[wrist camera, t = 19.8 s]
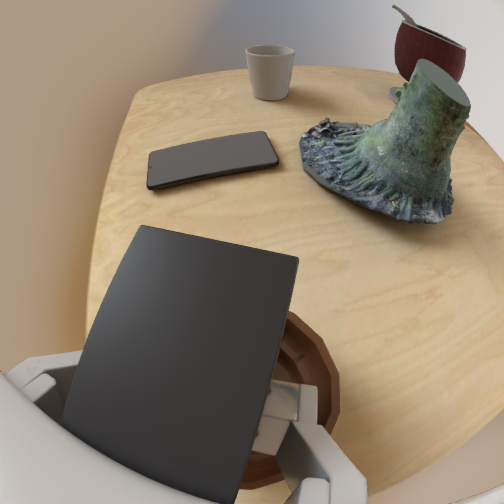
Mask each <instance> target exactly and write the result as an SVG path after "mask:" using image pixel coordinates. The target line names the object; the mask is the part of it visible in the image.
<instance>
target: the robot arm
mask: <svg viewBox="0 0 504 504" xmlns="http://www.w3.org/2000/svg"><path fill="white" fill-rule="evenodd" d="M82 351H83V350H81V351H75V352H68V353H61V354H55V355H47V356H39V357H30V358H28V359H26V360H25V361H23V362H22V363H20V364H19V365H17V366H16V367H14V368H13V369H11V370H10V371H8V372H7V373H6V374H3V373H2V372H1V371H0V504H219V503H216V502H212V501H209V500H205V499H202V498H199V497H196V496H193V495H190V494H187V493H184V492H182V491H179V490H176V489H174V488H171V487H169V486H166V485H164V484H161V483H159V482H157V481H154V480H152V479H150V478H148V477H145V476H143V475H141V474H139V473H137V472H135V471H133V470H131V469H129V468H127V467H125V466H123V465H121V464H120V463H118V462H116V461H114V460H112V459H111V458H109V457H107V456H105V455H104V454H102V453H100V452H99V451H97V450H96V449H94V448H92V447H91V446H89V445H88V444H86V443H85V442H83V441H82V440H80V439H79V438H77V437H76V436H74V435H73V434H71V433H70V432H69V431H67V430H66V429H65V428H63V427H62V426H61V425H60V424H61V420H62V416H63V412H64V408H65V404H66V401H67V397H68V394H69V390H70V387H71V384H72V381H73V378H74V374H75V371H76V368H77V365H78V363H79V360H80V357H81V354H82ZM317 399H318V388H317V387H316V386H311V385H305V384H297V383H291V382H286V381H281V380H276V379H272V381H271V384H270V388H269V392H268V396H267V399H266V403H265V406H264V410H263V414H262V417H261V421H260V424H259V427H258V431H257V434H256V438H255V441H254V444H253V447H252V451H255V452H259V453H263V454H268V455H272V456H275V458H276V461H277V463H278V465H279V467H280V469H281V471H282V473H283V476H284V478H285V480H286V482H287V484H288V486H289V488H290V490H291V492H292V494H291V495H290V497H289V498H288V499H287V500H286V501H285V503H284V504H368V495H367V479H366V478H365V477H364V476H363V475H362V473H361V472H360V471H359V470H358V469H357V468H356V466H355V465H354V464H353V463H352V462H351V460H350V459H349V458H348V457H347V456H346V454H345V453H344V452H343V451H342V450H341V448H340V447H339V446H338V445H337V444H336V442H335V441H334V440H333V439H332V437H331V436H330V435H329V434H328V432H327V431H326V430H325V429H324V427H323V426H322V425H317ZM450 504H504V483H503V484H501V485H499V486H497V487H495V488H492V489H490V490H487V491H485V492H483V493H480V494H477V495H475V496H472V497H469V498H466V499H463V500H460V501H457V502H453V503H450Z"/></svg>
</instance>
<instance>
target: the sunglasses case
mask: <svg viewBox="0 0 504 504" xmlns="http://www.w3.org/2000/svg"><path fill="white" fill-rule="evenodd" d="M298 264H299V258H298V257H295V256H290V255H286V254H281V253H276V252H271V251H267V250H262V249H257V248H252V247H247V246H243V245H238V244H233V243H228V242H223V241H219V240H214V239H209V238H204V237H199V236H194V235H189V234H185V233H180V232H175V231H170V230H165V229H160V228H155V227H150V226H145V225H141V226H140V227H139V229H138V231H137V233H136V234H135V236H134V238H133V240H132V242H131V244H130V246H129V248H128V249H127V251H126V253H125V255H124V257H123V259H122V261H121V263H120V265H119V267H118V269H117V271H116V273H115V275H114V277H113V280H112V282H111V284H110V286H109V288H108V290H107V293H106V295H105V297H104V299H103V301H102V304H101V306H100V308H99V311H98V313H97V315H96V318H95V320H94V323H93V325H92V328H91V330H90V333H89V335H88V338H87V340H86V343H85V346H84V349H83V351H82V354H81V357H80V360H79V363H78V365H77V368H76V371H75V374H74V378H73V381H72V384H71V387H70V390H69V394H68V397H67V401H66V404H65V408H64V412H63V416H62V420H61V424H60V425H61V426H62V427H63V428H65V429H66V430H67V431H69V432H70V433H71V434H73V435H74V436H76V437H77V438H79V439H80V440H82V441H83V442H85V443H86V444H88V445H89V446H91V447H92V448H94V449H96V450H97V451H99V452H100V453H102V454H104V455H105V456H107V457H109V458H111V459H112V460H114V461H116V462H118V463H120V464H121V465H123V466H125V467H127V468H129V469H131V470H133V471H135V472H137V473H139V474H141V475H143V476H145V477H148V478H150V479H152V480H154V481H157V482H159V483H161V484H164V485H166V486H169V487H171V488H174V489H176V490H179V491H182V492H184V493H187V494H190V495H193V496H196V497H199V498H202V499H205V500H209V501H212V502H216V503H219V504H234V502H235V499H236V496H237V494H238V491H239V488H240V485H241V482H242V479H243V476H244V473H245V470H246V467H247V463H248V460H249V457H250V454H251V451H252V447H253V444H254V441H255V438H256V434H257V431H258V427H259V424H260V421H261V417H262V414H263V410H264V406H265V403H266V399H267V396H268V392H269V388H270V384H271V381H272V377H273V373H274V369H275V365H276V361H277V357H278V353H279V349H280V345H281V341H282V337H283V332H284V328H285V324H286V319H287V315H288V311H289V306H290V302H291V297H292V292H293V288H294V283H295V278H296V273H297V268H298Z"/></svg>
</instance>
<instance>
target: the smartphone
mask: <svg viewBox="0 0 504 504" xmlns="http://www.w3.org/2000/svg"><path fill="white" fill-rule="evenodd" d="M278 164H279V159H278V157H277V155H276V153H275V151H274V149H273V147H272V145H271V142H270V140H269V138H268V136H267V134H266V133H265V132H264V131H257V132H250V133H243V134H236V135H230V136H224V137H218V138H212V139H207V140H202V141H197V142H192V143H187V144H182V145H178V146H173V147H169V148H165V149H161V150H157V151H153V152H151V153H150V154H149V162H148V173H147V188H148V189H149V190H156V189H160V188H164V187H168V186H173V185H177V184H181V183H186V182H191V181H195V180H200V179H205V178H210V177H215V176H221V175H226V174H232V173H237V172H243V171H249V170H255V169H262V168H269V167H275V166H277V165H278Z"/></svg>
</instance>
